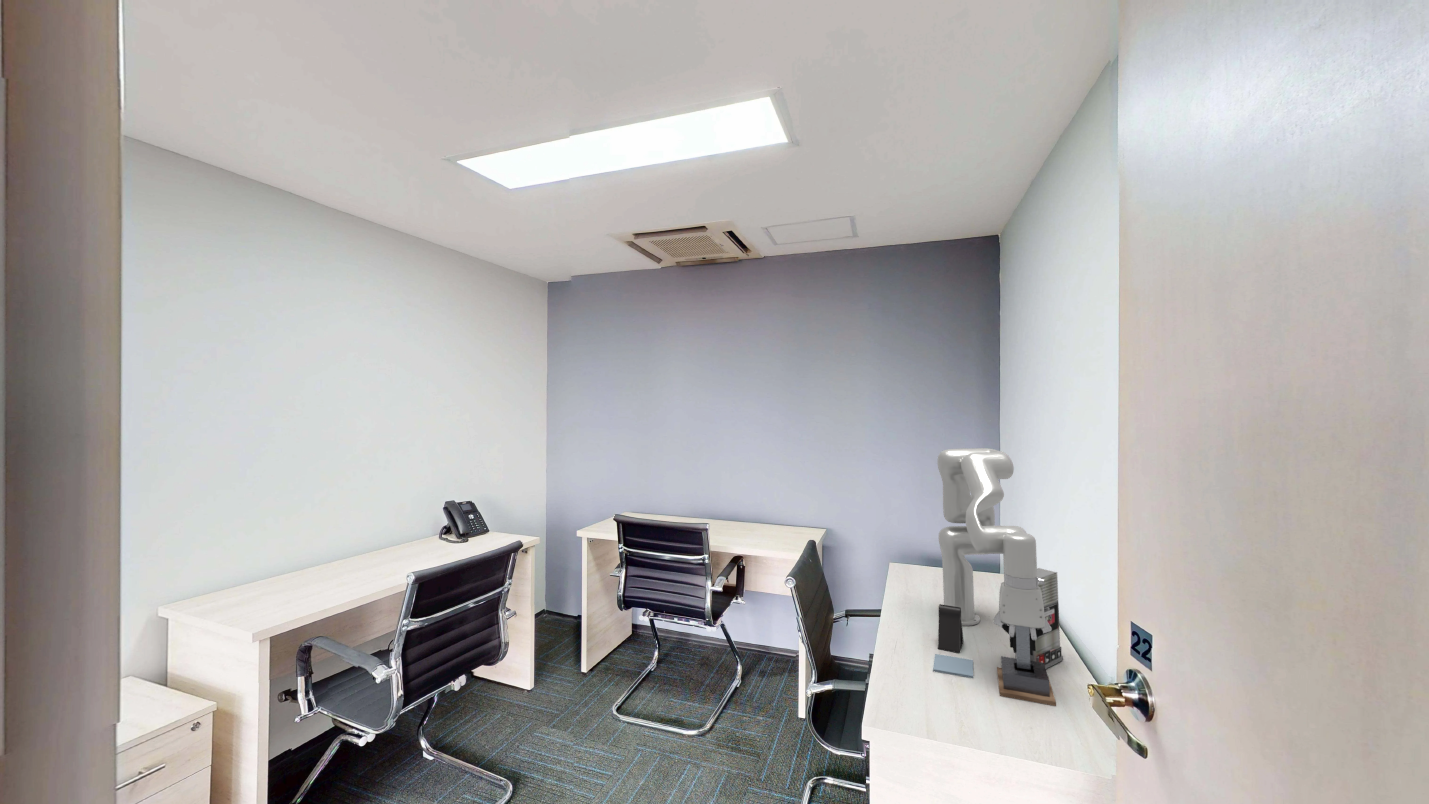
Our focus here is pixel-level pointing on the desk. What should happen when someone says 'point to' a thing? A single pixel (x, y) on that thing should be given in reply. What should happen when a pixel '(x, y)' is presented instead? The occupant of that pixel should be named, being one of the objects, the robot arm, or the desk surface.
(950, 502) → the robot arm
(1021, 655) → the key peg
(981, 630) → the desk surface
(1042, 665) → the block
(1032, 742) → the desk surface
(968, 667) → the mat
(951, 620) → the phone stand
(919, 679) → the desk surface
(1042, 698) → the stand
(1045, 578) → the cassette tape recorder
